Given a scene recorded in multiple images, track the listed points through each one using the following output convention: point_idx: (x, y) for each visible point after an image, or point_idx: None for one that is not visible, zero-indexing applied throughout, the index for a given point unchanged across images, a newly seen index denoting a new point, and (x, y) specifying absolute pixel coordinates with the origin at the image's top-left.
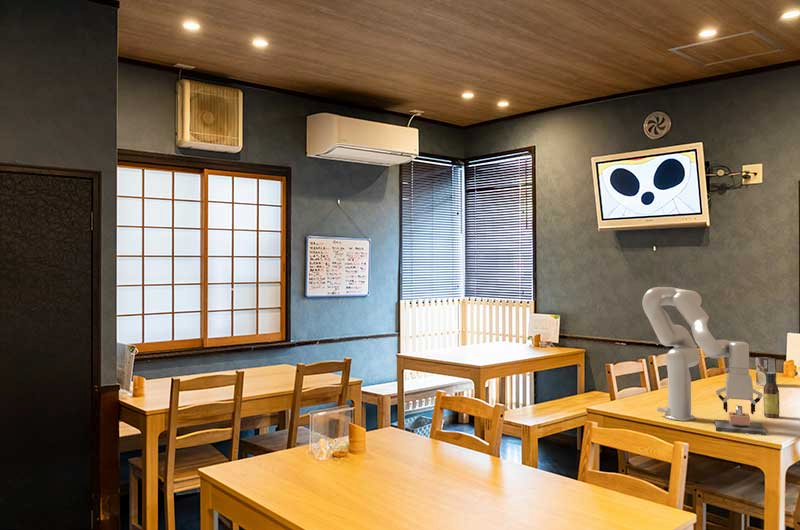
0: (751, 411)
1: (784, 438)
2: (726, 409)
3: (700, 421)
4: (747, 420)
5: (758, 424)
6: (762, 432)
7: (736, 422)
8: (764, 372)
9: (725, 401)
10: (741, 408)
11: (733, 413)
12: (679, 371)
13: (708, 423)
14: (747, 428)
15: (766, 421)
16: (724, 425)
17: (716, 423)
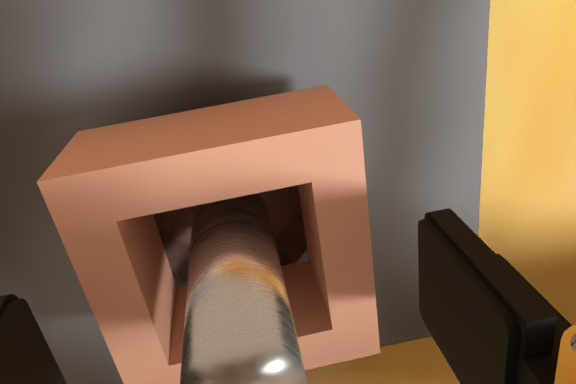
0: (6, 323)
1: None
2: (452, 230)
3: (568, 292)
4: (92, 147)
5: (57, 354)
6: None
7: (251, 106)
8: None
9: (569, 357)
10: (192, 337)
11: (319, 325)
12: None
13: (510, 256)
14: (104, 65)
15: None
16: (386, 89)
17: (470, 149)
